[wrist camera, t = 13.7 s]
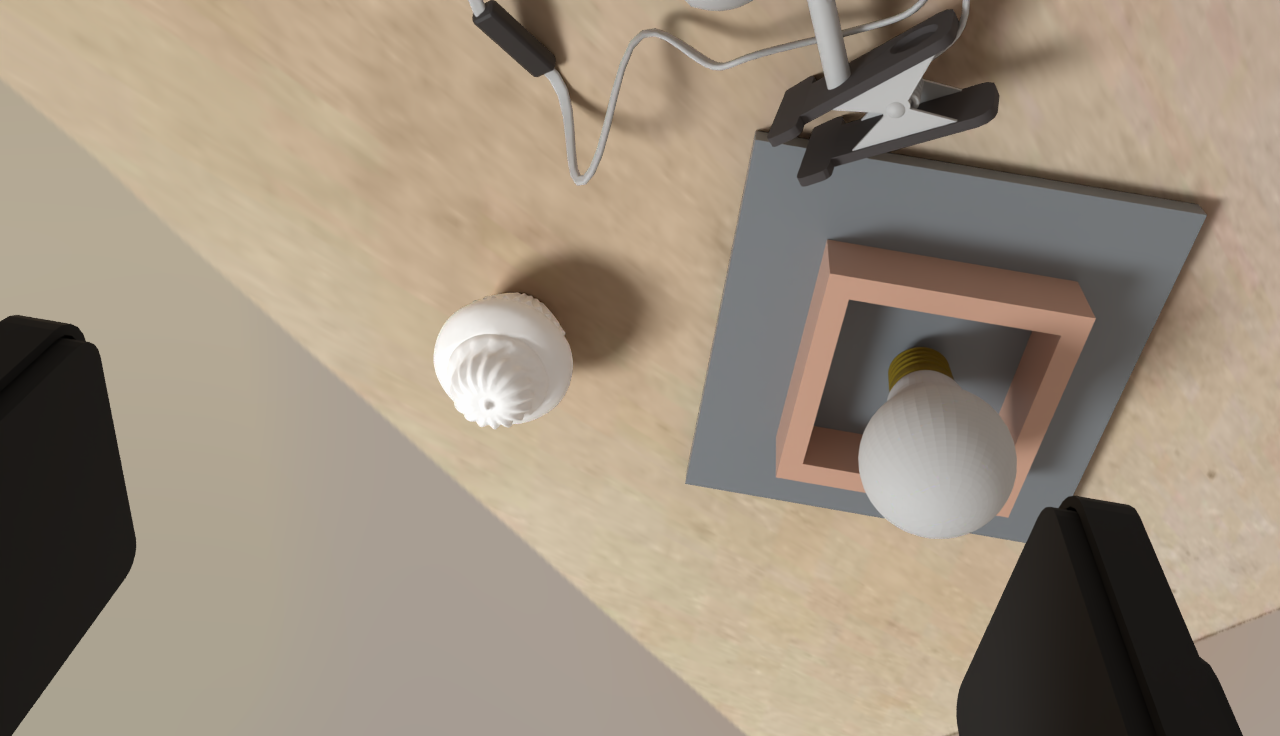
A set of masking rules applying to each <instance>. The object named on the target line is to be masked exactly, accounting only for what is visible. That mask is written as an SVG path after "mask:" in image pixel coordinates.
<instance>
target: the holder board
mask: <svg viewBox="0 0 1280 736" xmlns="http://www.w3.org/2000/svg"><path fill="white" fill-rule="evenodd" d="M768 134H769V133H767V132H761V131H756V132H755V137H754V142H753V147H752V152H751V157H750V161H749V166H748V171H747V176H746V181H745V186H744V191H743V196H742V201H741V206H740V211H739V216H738V221H737V226H736V231H735V236H734V241H733V245H732V250H731V255H730V260H729V265H728V270H727V275H726V280H725V285H724V290H723V295H722V300H721V305H720V310H719V315H718V320H717V325H716V329H715V334H714V339H713V344H712V349H711V354H710V359H709V364H708V369H707V374H706V379H705V384H704V389H703V394H702V399H701V404H700V409H699V413H698V418H697V423H696V428H695V433H694V438H693V443H692V448H691V453H690V458H689V463H688V468H687V474H686V483H685V484H690V485H696V486H701V487H707V488H713V489H719V490H724V491H730V492H736V493H742V494H747V495H753V496H759V497H765V498H770V499H776V500H782V501H788V502H793V503H799V504H805V505H811V506H816V507H822V508H828V509H834V510H839V511H845V512H851V513H857V514H862V515H868V516H874V517H880V518H885V517H883V516H882V515H881V514H880V513H879V512H878V510H877V509H876V508H875V507H874V505H873V504H872V503H871V501H870V499H869V498H868V496H867V494H866V492H865V490H864V487H863V484H862V481H861V477H860V473H859V462H858V456H859V448H860V442H861V439H862V436H863V433H864V430H865V428H866V427H867V425H868V423H869V421H870V419H871V418H872V417H873V415H874V414H875V413H876V412H877V410H878V409H879V408H880V407H881V406H882V405H884V404H885V403H886V402H887V398H888V395H889V381H888V370H889V366H890V364H891V362H892V361H893V359H894V358H895V357H896V356H897V355H898V354H900V353H901V352H903V351H905V350H907V349H910V348H915V347H927V348H931V349H934V350H936V351H938V352H940V353H941V354H942V355H943V356H944V357H945V358H946V359H947V361H948V363H949V367H950V369H951V372H952V375H953V378H954V381H955V382H956V383H957V384H958V385H959V386H960V387H961V388H962V390H966V391H968V392H970V393H972V394H974V395H976V396H978V397H979V398H981V399H982V400H984V401H985V402H986V403H988V404H989V405H990V406H991V407H992V408H993V409H994V410H995V411H996V412H997V413H998V414H999V415H1000V417H1001V418H1002V420H1003V421H1004V422H1005V424H1006V425H1007V427H1008V429H1009V431H1010V434H1011V436H1012V439H1013V441H1014V445H1015V450H1016V455H1017V473H1016V478H1015V482H1014V486H1013V489H1012V492H1011V494H1010V496H1009V498H1008V500H1007V502H1006V503H1005V505H1004V506H1003V508H1002V509H1001V511H1000V512H999V513H998V514H997V515H996V516H995V517H994V518H993V519H992V520H991V521H989V522H988V523H987V524H985V525H984V526H983V527H981V528H979V529H977V530H976V531H973V532H971V533H972V534H977V535H983V536H989V537H995V538H1000V539H1006V540H1012V541H1018V542H1023V543H1026V542H1027V540H1028V538H1029V535H1030V533H1031V531H1032V529H1033V527H1034V525H1035V522H1036V520H1037V518H1038V516H1039V514H1040V513H1041V511H1042V510H1043V509H1044V508H1045V507H1054V508H1059V506H1060V505H1061V503H1062V502H1063V501H1064V500H1065V499H1066V498H1067V497H1069V496H1073V494H1074V492H1075V490H1076V488H1077V486H1078V484H1079V482H1080V480H1081V478H1082V475H1083V473H1084V471H1085V469H1086V467H1087V465H1088V463H1089V461H1090V459H1091V457H1092V455H1093V452H1094V450H1095V448H1096V446H1097V444H1098V442H1099V440H1100V438H1101V436H1102V434H1103V432H1104V429H1105V427H1106V425H1107V423H1108V421H1109V419H1110V417H1111V415H1112V413H1113V411H1114V409H1115V406H1116V404H1117V402H1118V400H1119V398H1120V396H1121V394H1122V392H1123V390H1124V388H1125V386H1126V383H1127V381H1128V379H1129V377H1130V375H1131V373H1132V371H1133V369H1134V367H1135V365H1136V363H1137V360H1138V358H1139V356H1140V354H1141V352H1142V350H1143V348H1144V346H1145V344H1146V342H1147V340H1148V337H1149V335H1150V333H1151V331H1152V329H1153V327H1154V325H1155V323H1156V321H1157V319H1158V317H1159V314H1160V312H1161V310H1162V308H1163V306H1164V304H1165V302H1166V300H1167V298H1168V296H1169V294H1170V291H1171V289H1172V287H1173V285H1174V283H1175V281H1176V279H1177V277H1178V275H1179V273H1180V271H1181V268H1182V266H1183V264H1184V262H1185V260H1186V258H1187V256H1188V254H1189V252H1190V250H1191V248H1192V245H1193V243H1194V241H1195V239H1196V237H1197V235H1198V233H1199V231H1200V229H1201V227H1202V225H1203V222H1204V220H1205V218H1206V216H1207V215H1206V213H1205V212H1204V211H1203V210H1202V208H1201V207H1200V206H1199V205H1198V204H1192V203H1186V202H1180V201H1174V200H1168V199H1162V198H1156V197H1150V196H1144V195H1138V194H1132V193H1126V192H1120V191H1114V190H1108V189H1102V188H1096V187H1090V186H1084V185H1078V184H1072V183H1066V182H1060V181H1054V180H1048V179H1042V178H1036V177H1030V176H1024V175H1018V174H1012V173H1006V172H1000V171H994V170H988V169H983V168H977V167H971V166H965V165H959V164H953V163H947V162H941V161H935V160H929V159H923V158H917V157H911V156H905V155H899V154H893V153H887V152H886V153H883V154H879V155H876V156H872V157H868V158H865V159H861V160H857V161H854V162H850V163H847V164H843V165H839V166H836V167H834V170H833V173H832V175H831V177H829V178H828V179H826V180H824V181H822V182H818V183H815V184H812V185H809V186H805V187H803V186H801V185H800V183H799V181H798V179H797V174H798V171H799V168H800V165H801V162H802V160H803V157H804V154H805V151H806V148H807V145H808V143H809V139H803V138H797V137H795V138H794V139H792V140H790V141H787V142H785V143H783V144H781V145H779V146H776V147H772V145H771V143H770V142H769V140H768V139H767V136H768ZM885 519H886V518H885Z"/></svg>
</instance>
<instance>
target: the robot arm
mask: <svg viewBox="0 0 1280 736" xmlns="http://www.w3.org/2000/svg"><path fill="white" fill-rule="evenodd" d="M135 552H136V537H135V532H134V528H133V522H132V517H131V512H130V506H129V501H128V496H127V491H126V486H125V481H124V475H123V470H122V466H121V460H120V455H119V450H118V444H117V440H116V435H115V429H114V424H113V419H112V414H111V408H110V403H109V398H108V394H107V388H106V383H105V377H104V372H103V367H102V362H101V357H100V354H99V351H98V349H97V347H96V346H95V345H94V344H92V343H90V342H86V341H85V338H84V335H83V333H82V332H81V331H80V329H79V328H78V327H76V326H74V325H72V324H67V323H61V322H56V321H50V320H44V319H38V318H32V317H26V316H20V315H14V316H9V317H7V318H5V319H4V320H2V321H0V736H12V734H13V733H14V731H15V730H16V729H17V727H18V726H19V724H20V723H21V722H22V720H23V719H24V718H25V716H26V715H27V713H28V712H29V711H30V709H31V708H32V707H33V705H34V704H35V702H36V701H37V700H38V698H39V697H40V695H41V694H42V693H43V691H44V690H45V689H46V687H47V686H48V684H49V683H50V682H51V680H52V679H53V677H54V676H55V675H56V673H57V672H58V671H59V669H60V668H61V666H62V665H63V664H64V662H65V661H66V660H67V658H68V657H69V655H70V654H71V653H72V651H73V650H74V648H75V647H76V645H77V644H78V643H79V641H80V640H81V638H82V637H83V636H84V635H85V633H86V632H87V630H88V629H89V628H90V626H91V625H92V623H93V622H94V621H95V619H96V618H97V616H98V615H99V614H100V612H101V611H102V610H103V608H104V607H105V606H106V604H107V603H108V601H109V600H110V599H111V597H112V596H113V594H114V593H115V592H116V590H117V589H118V587H119V586H120V585H121V583H122V582H123V581H124V579H125V578H126V576H127V574H128V573H129V571H130V569H131V566H132V564H133V561H134V557H135ZM957 725H958V731H959V736H1243V735H1242V732H1241V730H1240V728H1239V726H1238V723H1237V721H1236V719H1235V716H1234V714H1233V712H1232V710H1231V707H1230V705H1229V703H1228V700H1227V698H1226V696H1225V693H1224V691H1223V689H1222V686H1221V684H1220V682H1219V680H1218V678H1217V676H1216V675H1215V673H1214V671H1213V670H1212V668H1211V666H1210V665H1209V664H1208V663H1207V662H1205V661H1204V660H1203V659H1202V658H1201V657H1199V655H1198V652H1197V650H1196V648H1195V645H1194V643H1193V641H1192V638H1191V636H1190V634H1189V631H1188V629H1187V626H1186V624H1185V622H1184V619H1183V617H1182V615H1181V612H1180V610H1179V608H1178V605H1177V603H1176V601H1175V598H1174V596H1173V594H1172V591H1171V589H1170V586H1169V584H1168V582H1167V579H1166V577H1165V575H1164V572H1163V570H1162V568H1161V565H1160V563H1159V561H1158V558H1157V556H1156V554H1155V551H1154V549H1153V546H1152V544H1151V542H1150V539H1149V537H1148V535H1147V532H1146V530H1145V528H1144V525H1143V523H1142V521H1141V518H1140V516H1139V514H1138V513H1137V511H1136V510H1135V508H1133V507H1131V506H1130V505H1126V504H1120V503H1114V502H1108V501H1102V500H1096V499H1091V498H1085V497H1079V496H1069V497H1067V498H1066V499H1065V500H1064V501H1063V502H1062V503H1061V505H1060V506H1059V508H1054V507H1045V508H1044V509H1043V510H1042V511H1041V513H1040V514H1039V516H1038V518H1037V520H1036V522H1035V525H1034V527H1033V529H1032V531H1031V533H1030V535H1029V538H1028V540H1027V542H1026V544H1025V546H1024V549H1023V551H1022V553H1021V555H1020V557H1019V559H1018V562H1017V564H1016V566H1015V568H1014V570H1013V572H1012V575H1011V577H1010V579H1009V581H1008V583H1007V586H1006V588H1005V590H1004V592H1003V594H1002V596H1001V599H1000V601H999V603H998V605H997V607H996V610H995V612H994V614H993V616H992V618H991V620H990V623H989V625H988V627H987V629H986V631H985V633H984V636H983V638H982V640H981V642H980V644H979V647H978V649H977V651H976V653H975V655H974V657H973V660H972V662H971V664H970V666H969V668H968V671H967V673H966V675H965V677H964V679H963V681H962V684H961V687H960V689H959V694H958V699H957Z"/></svg>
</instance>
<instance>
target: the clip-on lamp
mask: <svg viewBox="0 0 1280 736" xmlns="http://www.w3.org/2000/svg"><path fill="white" fill-rule="evenodd" d="M468 1H469V3H470V6H471V8H472V11H473V22H474V24H475V25H476V26H477V27H478V28H480V29H481V30H482V31H483V32H484V33H485V34H486V35H487V36H489V37H490V38H491V39H492V40H493V41H494V42H495V43H496V44H498V45H499V46H500V47H501V48H502V49H503V50H504V51H505V52H507V53H508V54H509V55H510V56H511V57H512V58H513V59H514V60H516V61H517V62H518V63H519V64H520V65H521V66H522V67H524V68H525V69H526V70H527V71H528V72H529V73H530V74H531V75H533V76H534V77H539V76H541V75H545V76H546V77H547V78H548V79H549V81H550V82H551V84H552V86H553V88H554V90H555V92H556V94H557V95H558V99H559V103H560V107H561V111H562V115H563V121H564V130H565V138H566V148H567V159H568V165H569V170H570V175H571V178H572V179H573V181H574V182H575V184H576V185H585V184H587V183H588V181H589V180H590V179H591V178H592V176H593V175H594V174H595V172H596V169H597V167H598V165H599V162H600V160H601V158H602V155H603V152H604V148H605V145H606V141H607V138H608V134H609V131H610V127H611V123H612V118H613V114H614V110H615V106H616V102H617V98H618V94H619V90H620V87H621V83H622V79H623V75H624V72H625V69H626V66H627V64H628V61H629V59H630V56H631V54H632V51H633V49H634V48H635V47H636V46H637V45H638V43H639V42H640V41H641V40H642V39H643V38H647V37H654V36H655V37H658V38H660V39H663V40H665V41H667V42H669V43H670V44H672V45H673V46H675V47H676V48H678V49H679V50H680V51H682V52H683V53H685V54H686V55H687V56H689V57H690V58H692V59H693V60H694V61H696V62H697V63H699V64H701V65H702V66H704V67H706V68H709V69H712V70H725V69H729V68H731V67H734V66H737V65H739V64H742V63H745V62H747V61H750V60H754V59H757V58H760V57H763V56H767V55H771V54H775V53H779V52H783V51H787V50H791V49H795V48H799V47H803V46H808V45H812V44H816V43H817V45H818V49H819V54H820V58H821V62H822V67H823V71H824V75H825V77H823V78H821V79H819V80H818V81H816V79H815V78H814V76H811V77H808V78H807V79H805V80H803V81H802V82H800V83H798V84H797V85H795V86H793V87H792V88H790V89H788V90H787V91H786V92H785V95H784V97H783V100H782V102H781V104H780V107H779V109H778V112H777V114H776V117H775V119H774V121H773V124H772V126H771V129H770V131H769V134H768V136H767V139H768V140H769V142H770V143H771V145H772V147H776V146H779V145H781V144H783V143H785V142H787V141H790V140H792V139H794V138H795V137H797V136H798V135H799V134H800V133H801V132H802V130H803V127H804V125H805V124H806V123H808V122H810V121H812V120H814V119H816V118H818V117H819V116H821V115H823V114H825V113H827V112H829V111H831V110H840V111H855V112H867V113H866V115H865V116H864V117H863V118H862V119H860V120H856V121H853V122H850V123H846V124H845V121H844V119H843V117H837V118H834V119H832V120H830V121H827V122H825V123H823V124H821V125H819V126H817V127H815V128H814V129H813V131H812V134H811V137H810V140H809V143H808V145H807V148H806V151H805V154H804V157H803V160H802V162H801V165H800V168H799V171H798V174H797V179H798V181H799V183H800V185H801V186H803V187H805V186H809V185H812V184H815V183H818V182H822V181H824V180H826V179H828V178H829V177H831V175H832V173H833V170H834V167H836V166H839V165H843V164H847V163H850V162H854V161H857V160H861V159H865V158H868V157H872V156H876V155H879V154H883V153H886V152H890V151H894V150H897V149H901V148H904V147H908V146H912V145H915V144H919V143H923V142H926V141H930V140H933V139H937V138H941V137H944V136H948V135H952V134H955V133H959V132H962V131H966V130H970V129H973V128H977V127H980V126H982V125H984V124H986V123H988V122H990V121H991V120H992V119H993V118H995V116H996V114H997V113H998V103H999V93H998V90H997V88H996V85H995V84H994V83H991V82H986V83H982V84H978V85H974V86H971V87H968V88H964V89H960V88H956V87H952V86H948V85H945V84H941V83H937V82H933V81H929V80H925V79H923V78H922V76H923V74H924V73H925V71H926V69H927V67H928V66H929V64H930V62H931V61H932V60H934V59H935V58H937V57H938V56H939V55H941V54H942V53H943V52H945V51H946V50H947V49H948V48H949V47H951V46H952V45H953V44H954V43H955V41H956V40H957V39H958V38H959V37H960V35H961V33H962V32H963V30H964V28H965V26H966V22H967V18H968V15H969V5H970V0H963V4H962V14H961V17H960V21H959V20H958V18H957V16H956V14H955V12H954V11H953V9H950V10H945V11H943V12H940V13H938V14H936V15H934V16H932V17H931V18H929V19H927V20H925V21H923V22H922V23H920V24H918V25H916V26H914V27H913V28H911V29H909V30H907V31H906V32H904V33H902V34H900V35H898V36H897V37H895V38H893V39H891V40H889V41H888V42H886V43H884V44H882V45H880V46H879V47H877V48H875V49H873V50H871V51H870V52H868V53H866V54H864V55H862V56H861V57H859V58H857V59H855V60H853V61H852V62H850V63H848V58H847V53H846V49H845V44H844V39H843V37H845V36H849V35H853V34H857V33H861V32H864V31H868V30H872V29H875V28H879V27H883V26H886V25H889V24H892V23H895V22H898V21H900V20H902V19H905V18H907V17H909V16H911V15H912V14H914V13H915V12H917V11H918V10H919V9H920V8H921V7H922V6H923V5H924V4H925V3H926V2H927V0H919V1H918V2H917V3H916V4H915V5H913V6H912V7H911V8H909V9H908V10H906V11H905V12H902V13H900V14H898V15H895V16H892V17H889V18H885V19H882V20H878V21H875V22H871V23H867V24H863V25H860V26H856V27H852V28H848V29H844V30H841V25H840V21H839V16H838V11H837V7H836V2H835V0H807V2H808V6H809V10H810V15H811V19H812V23H813V28H814V32H815V37H811V38H807V39H802V40H798V41H794V42H790V43H786V44H782V45H777V46H773V47H770V48H766V49H762V50H759V51H756V52H752V53H749V54H747V55H744V56H742V57H739V58H737V59H734V60H732V61H729V62H725V63H720V62H716V61H714V60H711V59H710V58H708V57H706V56H705V55H703V54H702V53H700V52H699V51H697V50H696V49H694V48H693V47H691V46H690V45H688V44H687V43H685V42H684V41H682V40H681V39H679V38H677V37H675V36H674V35H672V34H670V33H668V32H665V31H662V30H659V29H656V28H655V29H647V30H642V31H641V32H640V33H639V34H637V35H636V36H635V37H634V38H633V39H632V40H631V41H630V43H629V45H628V47H627V49H626V51H625V53H624V56H623V58H622V60H621V62H620V65H619V69H618V72H617V75H616V79H615V82H614V85H613V89H612V92H611V96H610V100H609V104H608V108H607V113H606V117H605V121H604V124H603V128H602V132H601V136H600V139H599V143H598V147H597V150H596V152H595V155H594V157H593V160H592V163H591V165H590V167H589V169H588V170H587V171H586V173H585V174H584V175H580V172H579V170H578V167H577V158H576V147H575V131H574V120H573V110H572V105H571V101H570V96H569V92H568V88H567V86H566V85H565V83H564V81H563V79H562V77H561V75H560V73H559V72H558V71H557V70H556V69H555V61H556V60H555V56H554V55H553V54H552V53H551V52H550V51H549V50H548V49H547V48H546V47H544V46H543V45H542V44H541V43H540V42H539V41H538V40H537V39H536V38H535V37H534V36H533V35H532V34H530V33H529V32H528V31H527V30H526V29H525V28H524V27H523V26H522V25H521V24H520V23H519V22H518V21H516V20H515V19H514V18H513V17H512V16H511V15H510V14H509V13H508V12H507V11H506V10H505V9H504V8H502V7H501V6H500V5H499V4H498V3H497V2H496V1H494V0H490V1H488V2H486V3H484V2H483V0H468ZM685 1H686V2H687V3H688V4H689V5H690V6H691V7H695V8H699V9H704V10H711V11H724V10H731V9H734V8H738V7H741V6H743V5H745V4H747V3H749V2H751V1H753V0H685Z"/></svg>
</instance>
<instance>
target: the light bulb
mask: <svg viewBox="0 0 1280 736" xmlns="http://www.w3.org/2000/svg"><path fill="white" fill-rule="evenodd" d="M888 381H889V395H888V398H887V402H886V403H885V404H884V405H882V406H881V407H880V408H879V409H878V410H877V412H876V413H875V414H874V415H873V417H872V418H871V419H870V421H869V423H868V425H867V427H866V428H865V430H864V433H863V436H862V439H861V442H860V448H859V456H858V462H859V473H860V477H861V481H862V484H863V487H864V490H865V492H866V494H867V496H868V498H869V499H870V501H871V503H872V504H873V505H874V507H875V508H876V509H877V510H878V512H879V513H880V514H881V515H882V516H883V517H885V518H886V519H887V520H888V521H889V522H890V523H892V524H893V525H895V526H896V527H898V528H900V529H902V530H904V531H906V532H908V533H910V534H914V535H917V536H920V537H925V538H933V539H947V538H954V537H959V536H962V535H966V534H968V533H971V532H973V531H976V530H977V529H979V528H981V527H983V526H984V525H985V524H987V523H988V522H989V521H991V520H992V519H993V518H994V517H995V516H996V515H997V514H998V513H999V512H1000V511H1001V509H1002V508H1003V506H1004V505H1005V503H1006V502H1007V500H1008V498H1009V496H1010V494H1011V492H1012V489H1013V486H1014V482H1015V478H1016V473H1017V455H1016V450H1015V445H1014V441H1013V439H1012V436H1011V434H1010V431H1009V429H1008V427H1007V425H1006V424H1005V422H1004V421H1003V420H1002V418H1001V417H1000V415H999V414H998V413H997V412H996V411H995V410H994V409H993V408H992V407H991V406H990V405H989V404H988V403H986V402H985V401H984V400H982V399H981V398H979V397H978V396H976V395H974V394H972V393H970V392H968V391H966V390H962V388H961V387H960V386H959V385H958V384H957V383H956V382H955V381H954V378H953V375H952V372H951V369H950V367H949V363H948V361H947V359H946V358H945V357H944V356H943V355H942V354H941V353H940V352H938V351H936V350H934V349H931V348H927V347H915V348H910V349H907V350H905V351H903V352H901V353H900V354H898V355H897V356H896V357H895V358H894V359H893V361H892V362H891V364H890V366H889V370H888Z"/></svg>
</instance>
